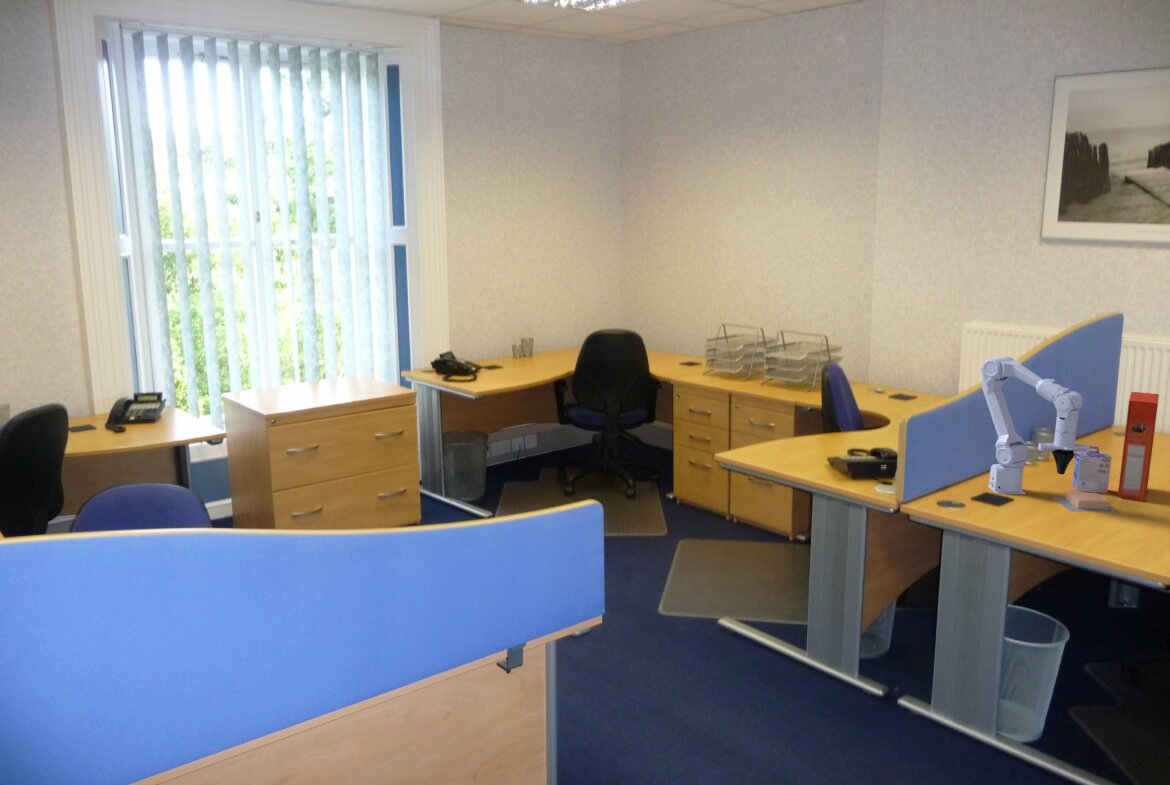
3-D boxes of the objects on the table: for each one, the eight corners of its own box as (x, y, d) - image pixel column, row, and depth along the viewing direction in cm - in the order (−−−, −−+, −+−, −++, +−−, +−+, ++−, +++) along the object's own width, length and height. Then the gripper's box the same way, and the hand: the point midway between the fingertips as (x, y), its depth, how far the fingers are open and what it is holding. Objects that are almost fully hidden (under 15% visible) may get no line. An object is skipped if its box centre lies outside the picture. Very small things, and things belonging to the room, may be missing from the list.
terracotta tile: (1078, 500, 285) (1109, 501, 284) (1066, 492, 294) (1095, 492, 293) (1077, 508, 285) (1108, 509, 285) (1065, 499, 294) (1094, 500, 293)
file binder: (1116, 497, 298) (1129, 400, 291) (1119, 484, 312) (1131, 391, 306) (1145, 502, 293) (1159, 403, 287) (1147, 488, 308) (1160, 394, 301)
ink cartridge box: (1102, 488, 307) (1108, 446, 304) (1108, 493, 302) (1113, 450, 299) (1070, 486, 309) (1075, 444, 306) (1075, 491, 304) (1080, 448, 301)
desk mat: (1069, 512, 283) (1070, 511, 283) (1051, 497, 297) (1051, 496, 297) (1117, 513, 282) (1117, 512, 282) (1096, 499, 296) (1096, 498, 296)
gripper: (1046, 433, 282) (1041, 476, 285) (1096, 434, 281) (1090, 478, 284) (1037, 427, 289) (1032, 469, 292) (1085, 429, 288) (1080, 471, 291)
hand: (1060, 473), depth 288 cm, fingers closed
